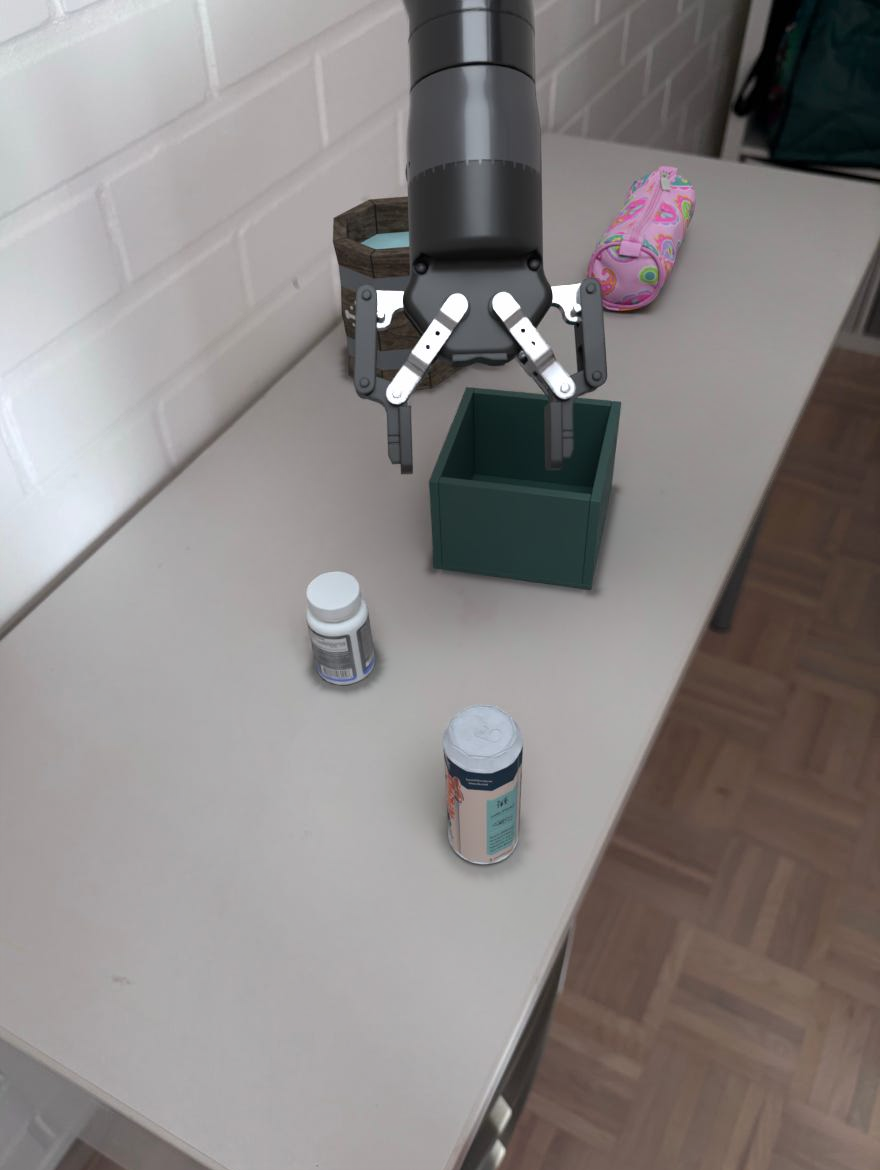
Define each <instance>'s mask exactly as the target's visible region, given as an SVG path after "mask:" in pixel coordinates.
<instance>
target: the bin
mask: <svg viewBox="0 0 880 1170" xmlns="http://www.w3.org/2000/svg"><path fill="white" fill-rule="evenodd" d="M547 404H548V398H547V396H546V395H545V394H544V393H534V392H524V391H523V392H522V391H513V390H502V389H493V388H482V387H471V386H466V387H465V389H464V391H463V394H462V396H461V399H460V402H459V404H458V407H457V410H456V411H455V414H454V416H453V419H452V422H451V424H450V427H449V429H448V432H447V435H446V437H445V440H444V441H443V445H442V446H441V450H440V452H439V455H438V457H437V460H436V462H435V465H434V466H433V470H432V471H431V472H432V473H431V475H430V478H429V480H428V489H429V491H428V492H429V507H430V508H429V511H430V525H431V526H430V527H431V544H432V546H431V547H432V561H433V562H432V563H433V568H434V569H439V570H446V571H453V572H460V573H467V574H475V575H482V576H489V577H496V578H504V579H509V580H511V579H512V580H518V581H526V582H533V583H540V584H547V585H555V586H562V587H570V588H577V589H584V590H589V591H591V590H592V587H593V583H594V577H595V572H596V567H597V562H598V558H599V552H600V548H601V543H602V537H603V532H604V527H605V523H606V519H607V513H608V508H609V503H610V499H611V493H612V487H613V479H614V470H615V463H616V454H617V446H618V444H617V443H618V435H619V426H620V417H621V412H622V411H621V410H622V401H618V400H609V399H608V400H607V399H598V398H586V397H577V398H576V400H575V402H574V406H573V413H574V450H573V453H572V455H571V458H569V459H566V460H563V467H562V469H560V470H546V468H545V423H544V407H545V406H546V405H547Z"/></svg>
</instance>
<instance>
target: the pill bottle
mask: <svg viewBox="0 0 880 1170" xmlns="http://www.w3.org/2000/svg"><path fill="white" fill-rule="evenodd" d="M306 600H307V607H306V611H305V621H306V625H307V629H308V630H307V631H308V635H309V637H310V638H309V639H310V644H311V649H312V655H313V658H314V664H315V667H316V670H317V673H318V674H319V676H320V677H321V678H322V679H323V680H325V681H326V682H328V683H329V684H334V685H339V686H347V685H352V684H355V683H358V682H360V681H361V680H364V679H365V678H366V677H367V676H368V675H370V673H371V672H372V671H373V668H374V666H375V660H376V659H375V656H376V655H375V650H374V648H375V647H374V642H373V634H372V627H371V621H370V614H369V613H370V612H369V606H368V603H367V602H366V600H365V599H364V597H363V596H362V592H361V586H360V584H359V582H358V580H357V578H356V577H354V575H352V574H350V573H347V572H344V571H338V570H337V571H336V570H335V571H327V572H324V573H322V574H319V575H317V576H316V577H314V578H313V579H312V580H311V581H310V583H308V586H307V587H306Z"/></svg>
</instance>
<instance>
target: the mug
mask: <svg viewBox="0 0 880 1170" xmlns="http://www.w3.org/2000/svg"><path fill="white" fill-rule="evenodd" d="M332 220H333V223H332V244H333V248H334V252H335V256H336V262H337V264H338V274H339V282H340V302H341V304H340V306H341V316H342V320H343V327H344V330H345V335H346V336H345V337H346V343H347V352H348V376H349V377H350V378H353V379H354V352H355V309H356V291H357V289H358V288H359V287H360V286H361V285H363V284H370V285H372V286H373V287H374V288H375V289H376V290H383V291H405V289H406V287H407V285H408V282H409V279H410V253H409V220H408V195H407V196H394V197H383V198H372V199H371V198H369V199H367V200H365V201H363V202H361V203H359V204H358V205H355V206H354V207H352V208H350V209H348V210H346V211H344V212H341V213H339V214H338V215H336V216H335V217H333V219H332ZM420 339H421V336H420V335H419V333H418V332H417V331H416V329H415V328H414V327H413V325H412V324H411V323H410V321H409V320H408V319H407V317H406V316H405V314H404V312H403V311H400V312H397V313H396V314H395V315H394V316H393V317H392V321H391V325H390V327H389V328H388V329H387V330H385V331H377V369H376V376H377V377H380V378H383V379H386V380H389V381H393V379H394V378H395V376H396V375H397V373H398V372H399V371H400V369H401V368H402V366H403V365H404V363H405V362H406V360H407V358H408V356H409V355H410V353H411V352H412V350H413V349H414V348H415V346H416V345H417V343H418V342H419V340H420ZM462 368H463V367H450V365H448V364H445V363H443V362H442V361H440V360H439V359H438V360H437V361H436V362H435V364H434V365H433V367H432V368H431V370H430V371H429V372H428V374H427V375H426V377H425V378H424V379H423V380H422V382H421V383H420V384H419V386H418V387H417V389H416V390H427V389H428V390H429V389H432V388H435V386H437V385H438V384H441V382H443V381H445V380H446V379H448V378H449V377H450V376H452V375H454V373H457V372H458V371H459V370H461V369H462Z"/></svg>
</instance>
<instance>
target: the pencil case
mask: <svg viewBox="0 0 880 1170" xmlns="http://www.w3.org/2000/svg"><path fill="white" fill-rule="evenodd" d="M678 170H679V168H678V167H675V166H668V165H667V166H666V165H660V166H659V167H658V168H657V170H655V171H652V172H649V173H647V174H645V175H644V176H642V177H640V178H638V180H634V181H633V183H632V184H631V186H630V188H629V190H628V192H627V193H626V195H625V198H624V202H623V205H622V206H621V207H620V209H619V210H618V213H617V214H616V216H615V218H614V220H613V222H612V223H611V224H610V225H609V227H608V228H607V229H606V230H605V231H604V232H603V235H602V236H601V237H600V239H598V241H597V243H596V245H595V249H594V250H593V252H592V254H591V256H590V259H589V261H588V265H587V268H586V269H587V270H586V278H590V277H592V278H595V279H597V280H598V281H599V282H600V284H601V288H602V303H603V308H605V309H607V310H610V311H617V312H623V311H632V310H637V309H640V308H644V307H645V306H647V305H648V304H650V303H652V302H653V301H654V300H655V299H656V298H657V297H658V295H659V294H660V293H661V291H662V289H663V286H664V284H665V282H667V279H669V276H670V275H671V273H672V271H673V269H674V267H675V262H676V257H677V255H678V252H679V250H680V248H681V246H682V243H683V240H684V236H685V233H686V231H687V229H688V227H689V226H690V224H691V221H692V219H693V217H694V213H695V208H696V205H697V204H696V202H697V196H696V191H695V188H694V186H693V185H692V183H690V181H688V180H687V178H684V177H683V176H682V175H680V174H679V173H678V174H677V172H678Z"/></svg>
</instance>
